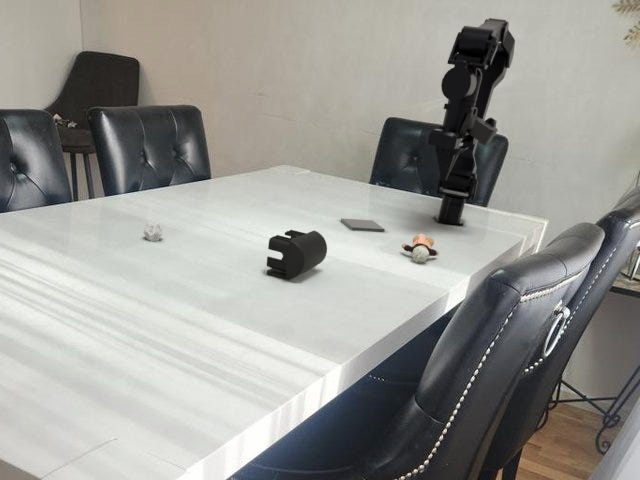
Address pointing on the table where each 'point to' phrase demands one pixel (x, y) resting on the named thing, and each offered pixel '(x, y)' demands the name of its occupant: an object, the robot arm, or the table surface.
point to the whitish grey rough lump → (153, 231)
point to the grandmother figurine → (421, 248)
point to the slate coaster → (362, 225)
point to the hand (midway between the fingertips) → (443, 180)
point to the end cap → (296, 253)
